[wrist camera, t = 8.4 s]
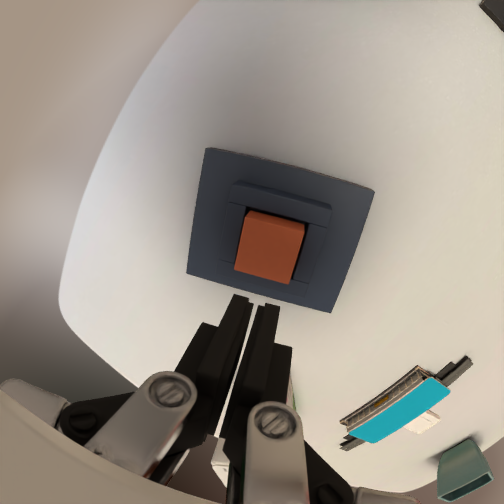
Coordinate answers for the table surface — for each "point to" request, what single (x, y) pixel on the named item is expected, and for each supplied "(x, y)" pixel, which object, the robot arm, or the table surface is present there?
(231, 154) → the stepped blue base
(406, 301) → the table surface
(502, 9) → the stepped dark pedestal
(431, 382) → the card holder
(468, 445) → the flower pot
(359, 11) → the table surface
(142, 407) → the robot arm
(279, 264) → the orange block
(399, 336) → the table surface
